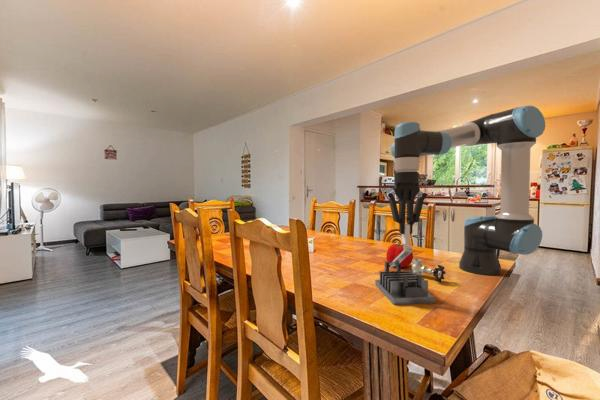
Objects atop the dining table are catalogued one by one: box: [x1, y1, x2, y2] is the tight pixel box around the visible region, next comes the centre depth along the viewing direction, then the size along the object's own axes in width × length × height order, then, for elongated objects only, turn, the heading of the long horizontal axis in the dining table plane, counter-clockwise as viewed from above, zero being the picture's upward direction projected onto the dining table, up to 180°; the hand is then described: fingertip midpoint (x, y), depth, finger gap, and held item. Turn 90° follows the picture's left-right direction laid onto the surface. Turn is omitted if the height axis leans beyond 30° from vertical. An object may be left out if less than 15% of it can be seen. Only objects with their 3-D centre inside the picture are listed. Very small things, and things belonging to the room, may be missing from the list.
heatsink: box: [374, 260, 436, 306], centre depth 95 cm, size 18×13×8 cm
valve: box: [411, 258, 447, 283], centre depth 110 cm, size 7×7×12 cm
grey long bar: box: [389, 244, 413, 268], centre depth 97 cm, size 16×3×2 cm
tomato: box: [385, 243, 414, 269], centre depth 126 cm, size 12×12×10 cm
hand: (405, 243), depth 91 cm, fingers closed
